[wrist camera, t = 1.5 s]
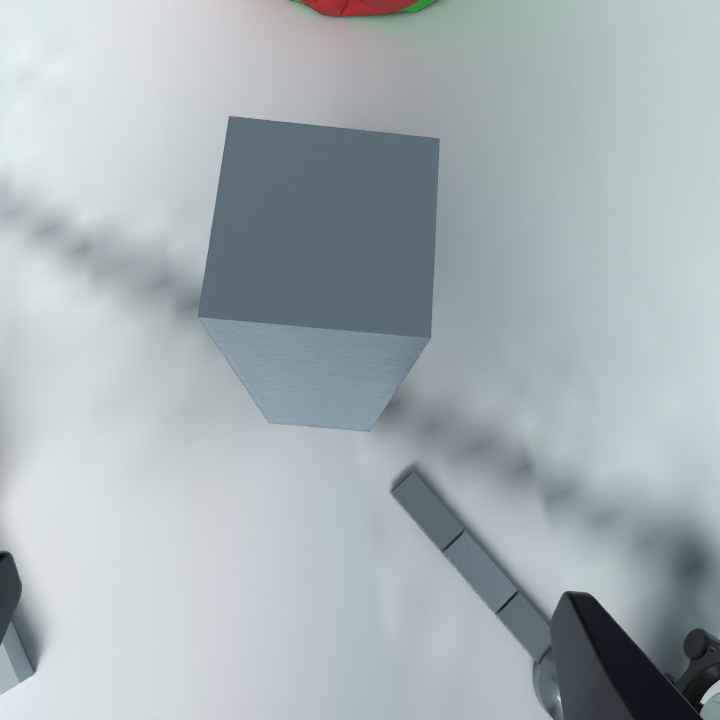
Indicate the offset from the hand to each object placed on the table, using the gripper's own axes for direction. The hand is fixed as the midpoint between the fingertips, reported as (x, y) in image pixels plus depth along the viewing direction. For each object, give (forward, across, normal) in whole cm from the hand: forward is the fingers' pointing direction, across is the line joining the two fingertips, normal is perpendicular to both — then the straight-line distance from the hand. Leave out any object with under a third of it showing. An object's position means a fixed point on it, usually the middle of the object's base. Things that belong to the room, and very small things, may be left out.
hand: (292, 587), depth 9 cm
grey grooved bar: (+8, -7, +10) cm, 14 cm away
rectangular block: (+13, 0, +4) cm, 14 cm away
